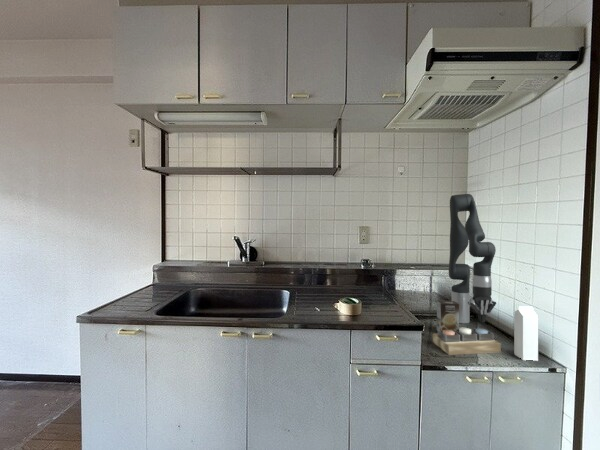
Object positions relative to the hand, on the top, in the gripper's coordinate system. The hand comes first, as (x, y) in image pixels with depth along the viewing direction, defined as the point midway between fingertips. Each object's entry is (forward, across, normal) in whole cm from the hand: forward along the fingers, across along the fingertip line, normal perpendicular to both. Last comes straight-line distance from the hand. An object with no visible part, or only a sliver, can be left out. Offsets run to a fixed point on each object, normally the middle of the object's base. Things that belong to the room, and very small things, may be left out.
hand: (481, 321), depth 140 cm
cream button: (+6, +8, 0) cm, 10 cm away
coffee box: (+12, +6, -18) cm, 22 cm away
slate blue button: (+7, 0, 0) cm, 7 cm away
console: (+12, +8, 0) cm, 14 cm away
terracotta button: (+7, +16, 0) cm, 18 cm away
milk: (+12, -11, +13) cm, 20 cm away
